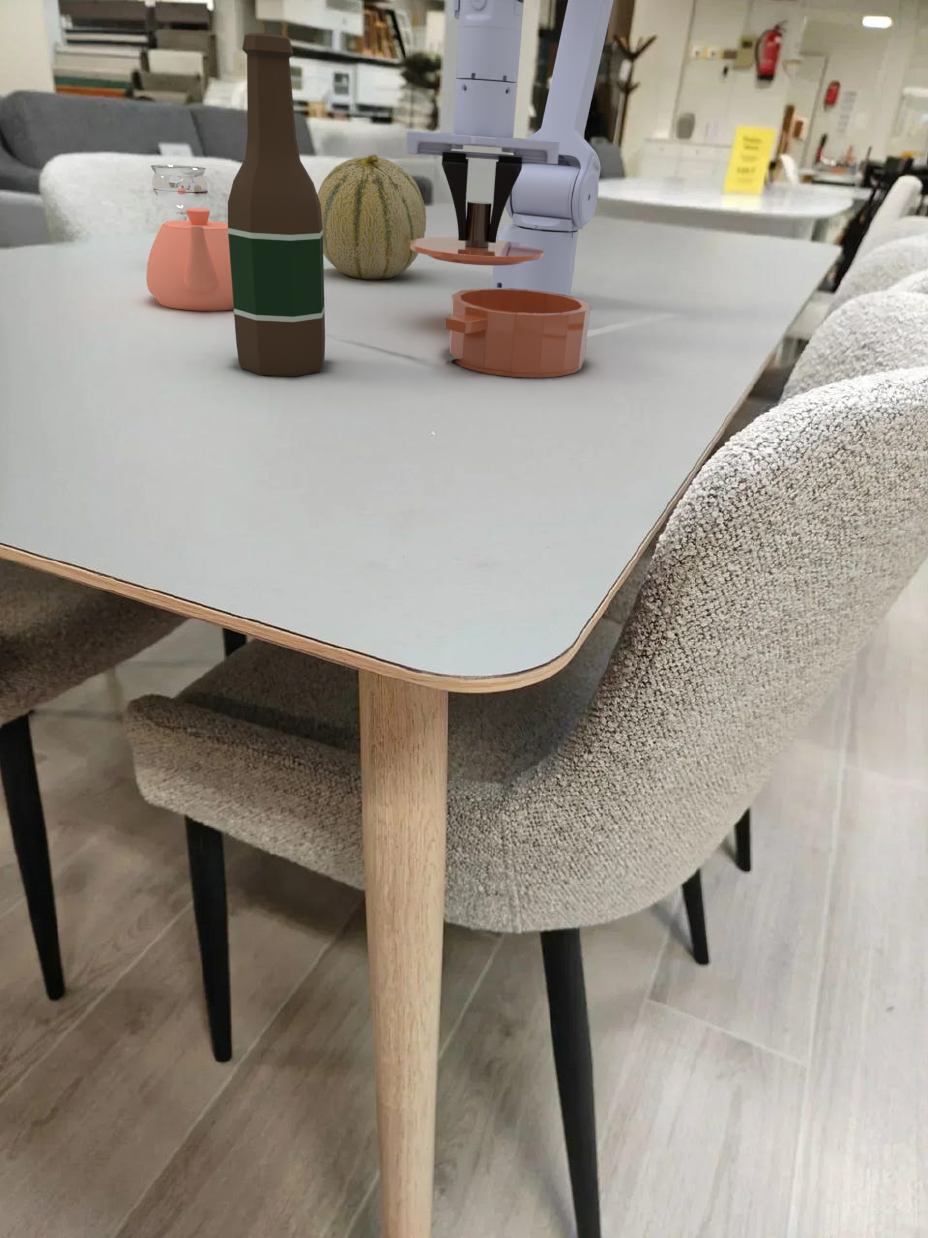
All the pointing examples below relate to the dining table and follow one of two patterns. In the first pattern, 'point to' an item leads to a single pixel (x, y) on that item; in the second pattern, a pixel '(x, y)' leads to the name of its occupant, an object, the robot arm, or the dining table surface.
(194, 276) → the teapot
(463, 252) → the pot lid
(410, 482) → the dining table surface
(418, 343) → the dining table surface
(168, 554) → the dining table surface
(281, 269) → the beer bottle
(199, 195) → the wineglass
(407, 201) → the cantaloupe
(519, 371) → the faceted orange tub
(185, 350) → the dining table surface
